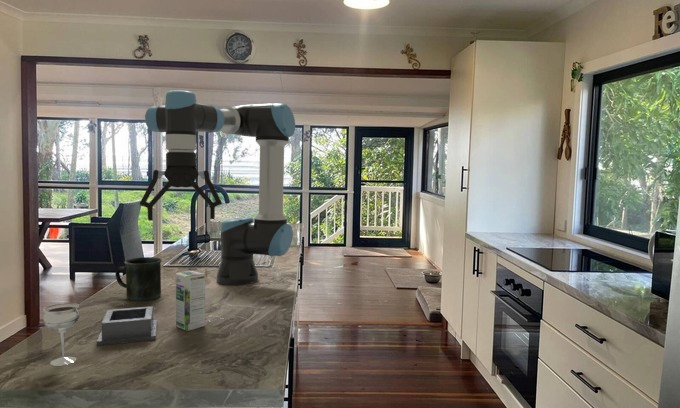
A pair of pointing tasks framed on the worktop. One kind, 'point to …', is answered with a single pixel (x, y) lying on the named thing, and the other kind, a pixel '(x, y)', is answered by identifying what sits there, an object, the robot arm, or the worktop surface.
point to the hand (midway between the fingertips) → (182, 232)
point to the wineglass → (61, 325)
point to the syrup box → (190, 300)
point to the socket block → (128, 326)
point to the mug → (141, 278)
